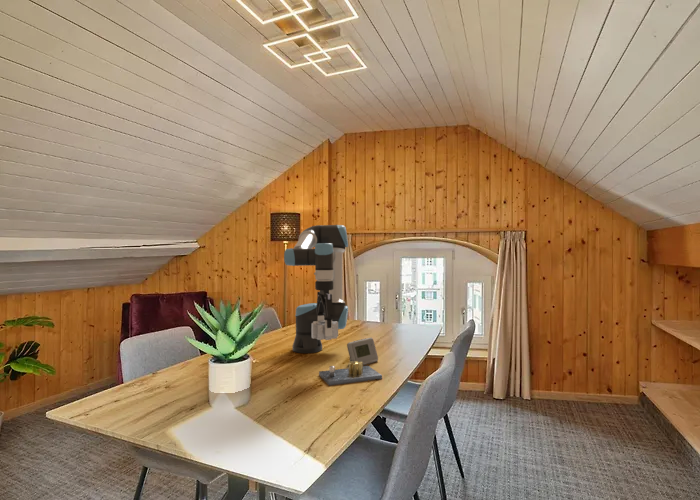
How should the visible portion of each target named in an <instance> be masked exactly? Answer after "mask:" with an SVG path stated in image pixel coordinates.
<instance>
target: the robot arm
mask: <svg viewBox="0 0 700 500" xmlns="http://www.w3.org/2000/svg"><path fill="white" fill-rule="evenodd" d="M347 233H348V232H347V228H346V226H345V225H343V224H327V225H326V224H322V225H321V224H319V225H318V224H317V225H312V226H310V227H307V228H306V229H304V230H302V232H300V234H299V236H298V240H297V242H296V243H295V245H294V246H293V248H292V247H291V248H285V250H284V253H283V254H284V255H283V258H284V259H283V261H284V264H285V265H286V266H290V267H291V266H293V267H295V266H298V267H299V266H303V267H305V266H311V267H312V266H315V268H314V269H315V270H314V271H315V272H314V273H313V275H314V276H315V280H316V281H315V283H314V285H315V286H314V287H315V288H314V289H315V290H316V291H317V299H316V303H315V302H313V303H312V302H311V303H305V304H300V305H298V306H297V307H296V308H295V315H294V317H295V337H294V340H293V343H292V352H293V353H296V354H297V353H298V354H313V353H317V352H321V351H323V343H322V340H318V339H316V338H314V339H313V338H312V323H313V321H319V320H325V336H332V321H337V322H338V330H344V329H345V328H346V326H347V323H348V316H349V315H348V314H349V306H348V305H346V301H344V300H343V299H344V298H343V294H344V293H343V277H344V276H343V268H344V267H343V264H344V263H343V260H344V259H343V257H344V256H343V254H344V253H346V248H348V247H349V240H348V239H349V238H348V234H347Z"/></svg>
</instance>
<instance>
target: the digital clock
mask: <svg viewBox="0 0 700 500" xmlns="http://www.w3.org/2000/svg"><path fill="white" fill-rule="evenodd" d="M346 347H347V351H348V356H349V362H350V361H351V362H355V361H358V362H363V366H368V365H370V364H374V363H376V362H378V361H379V355H378V352H377V348H376V345H375V341H374V338H373V337H367V338H362V339H358V340H357V339H356V340H353V341H350V342H347V344H346ZM367 364H368V365H367Z"/></svg>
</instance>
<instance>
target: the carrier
mask: <svg viewBox="0 0 700 500" xmlns="http://www.w3.org/2000/svg"><path fill="white" fill-rule="evenodd" d="M328 368H329V369H328V370H321V371H318V375H319V377H320V378H321V379H322V380H323V381H324V382H325V383H326V384H327V385H328V386H336V385H346V384H352V383H359V382H361V383H362V382H367V381H368V380H369V381H375V379H377V380H382V379H383V375H382V374H381V373H379V372H378V371H377V370H375V369H374V368H372V367H371V366H369V365H364V366H363V362H358V361H355V362H351V361H350V360H349V362H348V367H346V368H337V369H336V366H334V365H330V366H329V367H328ZM369 381H368V382H369Z"/></svg>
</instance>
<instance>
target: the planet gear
mask: <svg viewBox="0 0 700 500" xmlns="http://www.w3.org/2000/svg"><path fill="white" fill-rule="evenodd" d="M338 337H339V329H338V322H337V321H332V336H325V320H319V321H313V323H312V338H313V339H314V338H316V339H318V340H321V341H323V340H325V341H330V340H333V339H335V340H336V339H337V338H338Z"/></svg>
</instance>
